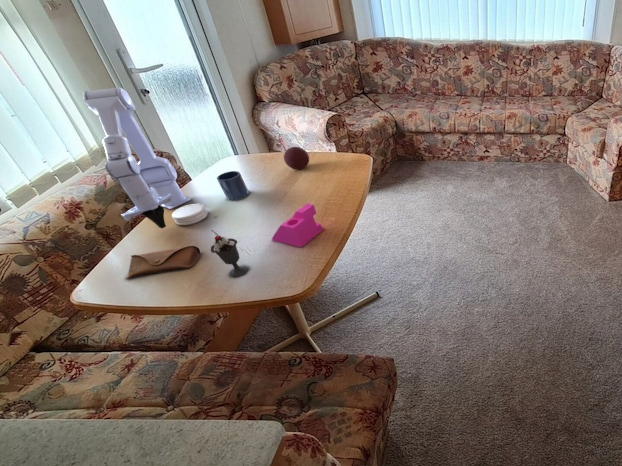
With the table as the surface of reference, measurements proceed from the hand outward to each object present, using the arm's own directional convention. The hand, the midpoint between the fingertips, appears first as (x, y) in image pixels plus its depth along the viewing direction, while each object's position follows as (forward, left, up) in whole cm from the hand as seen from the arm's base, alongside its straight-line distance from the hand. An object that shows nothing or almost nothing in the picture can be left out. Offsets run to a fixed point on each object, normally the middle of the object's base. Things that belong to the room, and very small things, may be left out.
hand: (162, 226), depth 131 cm
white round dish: (0, +9, -2) cm, 9 cm away
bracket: (+45, +18, -2) cm, 49 cm away
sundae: (+44, -3, -2) cm, 44 cm away
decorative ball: (+3, +55, -2) cm, 55 cm away
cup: (0, +27, -2) cm, 27 cm away
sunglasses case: (+20, -11, -2) cm, 23 cm away
